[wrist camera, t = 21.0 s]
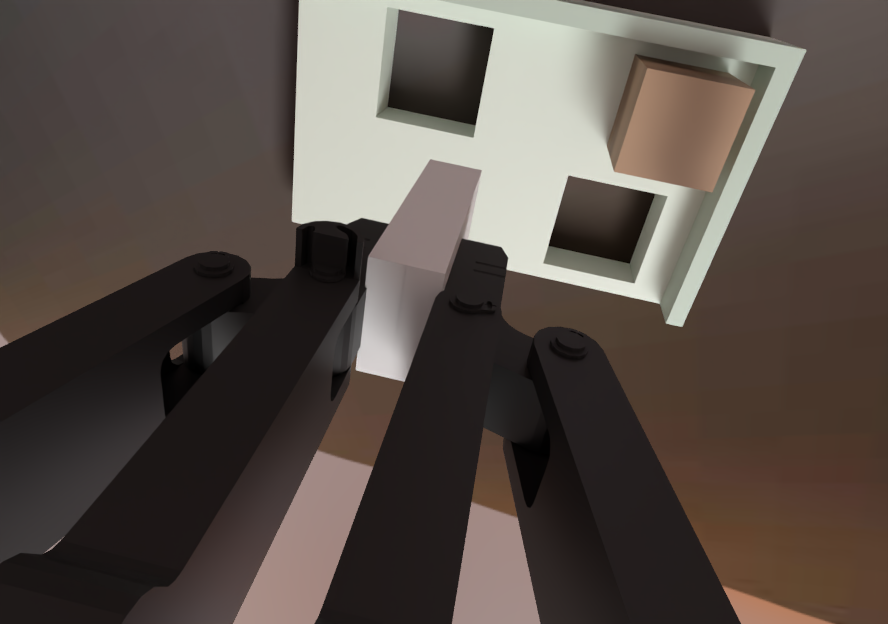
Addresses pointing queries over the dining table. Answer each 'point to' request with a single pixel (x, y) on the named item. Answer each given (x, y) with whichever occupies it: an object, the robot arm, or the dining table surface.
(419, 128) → the tray
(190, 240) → the dining table surface
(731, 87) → the walnut block
